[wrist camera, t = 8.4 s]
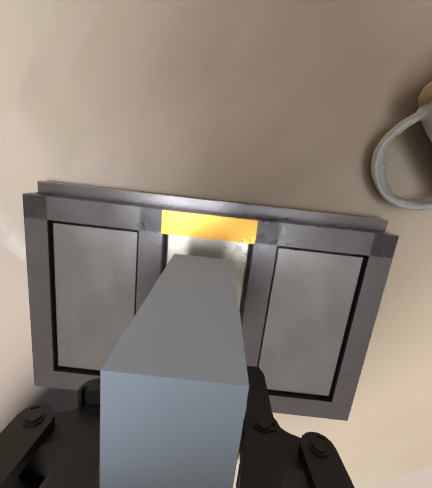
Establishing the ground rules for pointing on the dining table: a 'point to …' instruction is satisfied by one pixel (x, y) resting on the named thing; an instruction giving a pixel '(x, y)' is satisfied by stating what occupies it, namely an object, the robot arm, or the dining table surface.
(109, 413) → the blue-grey rectangular block
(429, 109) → the ceramic mug
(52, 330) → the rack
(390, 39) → the dining table surface
